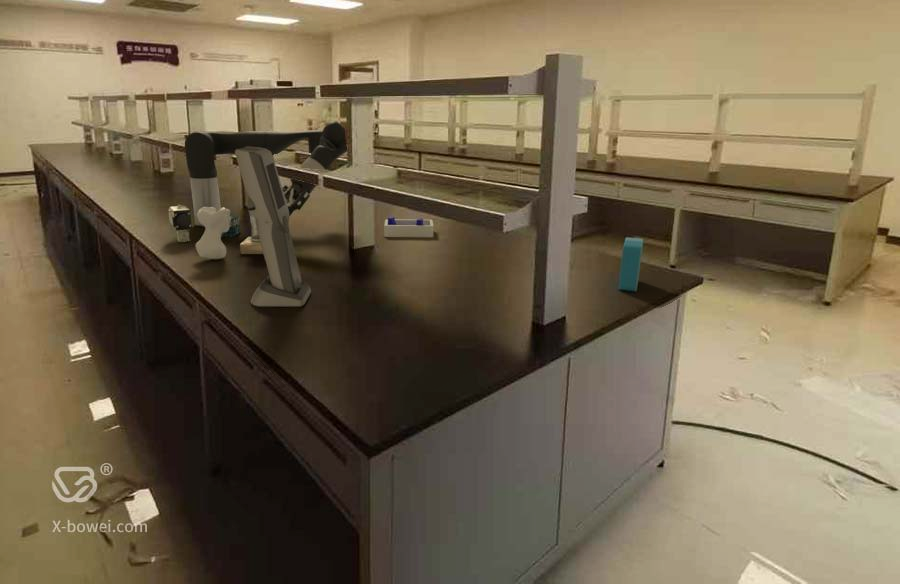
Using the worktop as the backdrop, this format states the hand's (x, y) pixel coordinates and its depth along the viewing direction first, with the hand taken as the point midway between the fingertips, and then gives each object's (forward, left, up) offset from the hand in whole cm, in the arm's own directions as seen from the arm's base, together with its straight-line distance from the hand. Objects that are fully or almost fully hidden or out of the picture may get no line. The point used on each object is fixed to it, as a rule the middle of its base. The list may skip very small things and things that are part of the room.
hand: (277, 215), depth 181 cm
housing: (+3, -5, -7) cm, 9 cm away
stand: (+3, -5, -10) cm, 12 cm away
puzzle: (-18, -21, -11) cm, 30 cm away
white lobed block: (+14, -15, -10) cm, 23 cm away
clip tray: (-21, +41, -10) cm, 47 cm away
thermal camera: (+50, +11, -10) cm, 52 cm away
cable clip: (-20, +40, -11) cm, 46 cm away
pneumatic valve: (-8, -33, -10) cm, 35 cm away
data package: (+39, +99, -11) cm, 107 cm away
